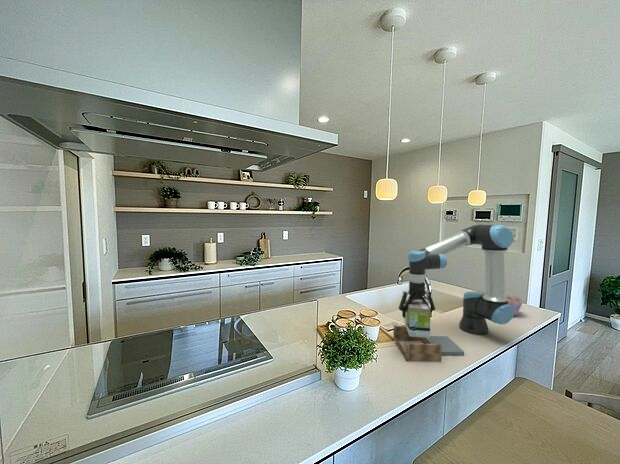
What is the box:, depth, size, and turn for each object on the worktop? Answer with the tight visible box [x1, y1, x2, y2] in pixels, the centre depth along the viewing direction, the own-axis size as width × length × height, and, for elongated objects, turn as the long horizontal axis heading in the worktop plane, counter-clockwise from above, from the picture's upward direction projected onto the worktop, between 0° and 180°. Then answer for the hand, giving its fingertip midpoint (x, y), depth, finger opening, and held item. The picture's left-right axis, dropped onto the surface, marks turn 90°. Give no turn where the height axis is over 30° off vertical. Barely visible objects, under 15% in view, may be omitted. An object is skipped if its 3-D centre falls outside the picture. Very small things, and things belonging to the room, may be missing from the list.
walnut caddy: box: [392, 324, 442, 362], centre depth 134 cm, size 17×22×8 cm
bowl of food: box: [505, 293, 524, 315], centre depth 185 cm, size 20×20×12 cm
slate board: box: [425, 335, 465, 357], centre depth 137 cm, size 13×17×2 cm
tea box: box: [404, 298, 432, 338], centre depth 134 cm, size 15×10×15 cm, turn 169°
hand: (416, 323), depth 134 cm, fingers closed on tea box, 11 cm apart
